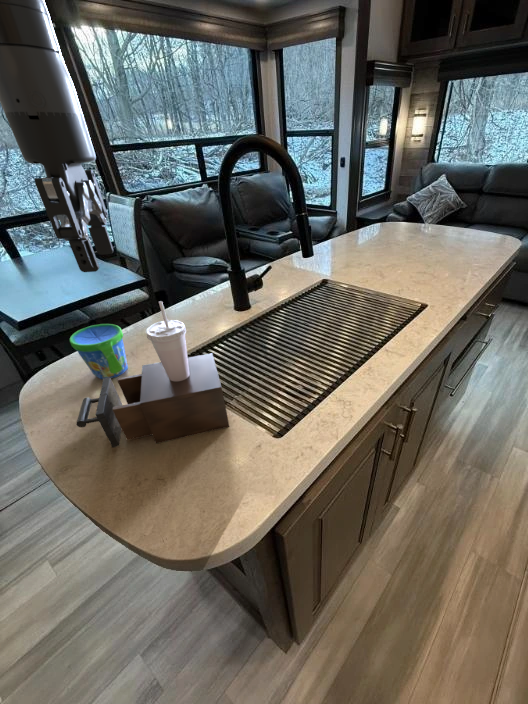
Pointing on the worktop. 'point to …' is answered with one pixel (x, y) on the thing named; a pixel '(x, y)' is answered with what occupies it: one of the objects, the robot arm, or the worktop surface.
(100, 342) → the snack cup
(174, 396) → the cabinet
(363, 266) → the worktop surface
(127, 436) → the drawer
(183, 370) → the smoothie
